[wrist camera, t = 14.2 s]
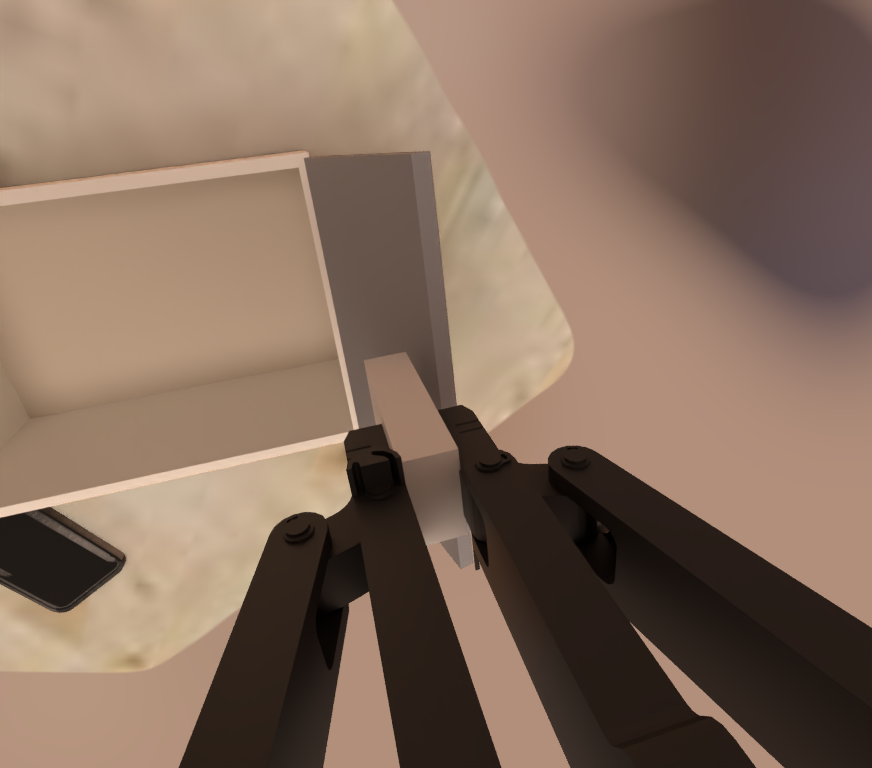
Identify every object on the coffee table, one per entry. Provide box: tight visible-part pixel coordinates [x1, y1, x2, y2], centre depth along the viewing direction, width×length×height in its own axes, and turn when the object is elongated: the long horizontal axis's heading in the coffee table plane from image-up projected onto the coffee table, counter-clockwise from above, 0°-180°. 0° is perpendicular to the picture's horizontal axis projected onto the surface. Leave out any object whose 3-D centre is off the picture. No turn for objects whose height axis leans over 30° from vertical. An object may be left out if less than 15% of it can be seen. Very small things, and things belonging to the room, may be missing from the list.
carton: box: [0, 150, 359, 518], centre depth 32 cm, size 16×24×12 cm, turn 97°
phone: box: [0, 507, 126, 613], centre depth 42 cm, size 8×1×15 cm
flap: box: [304, 151, 473, 569], centre depth 23 cm, size 16×12×1 cm
